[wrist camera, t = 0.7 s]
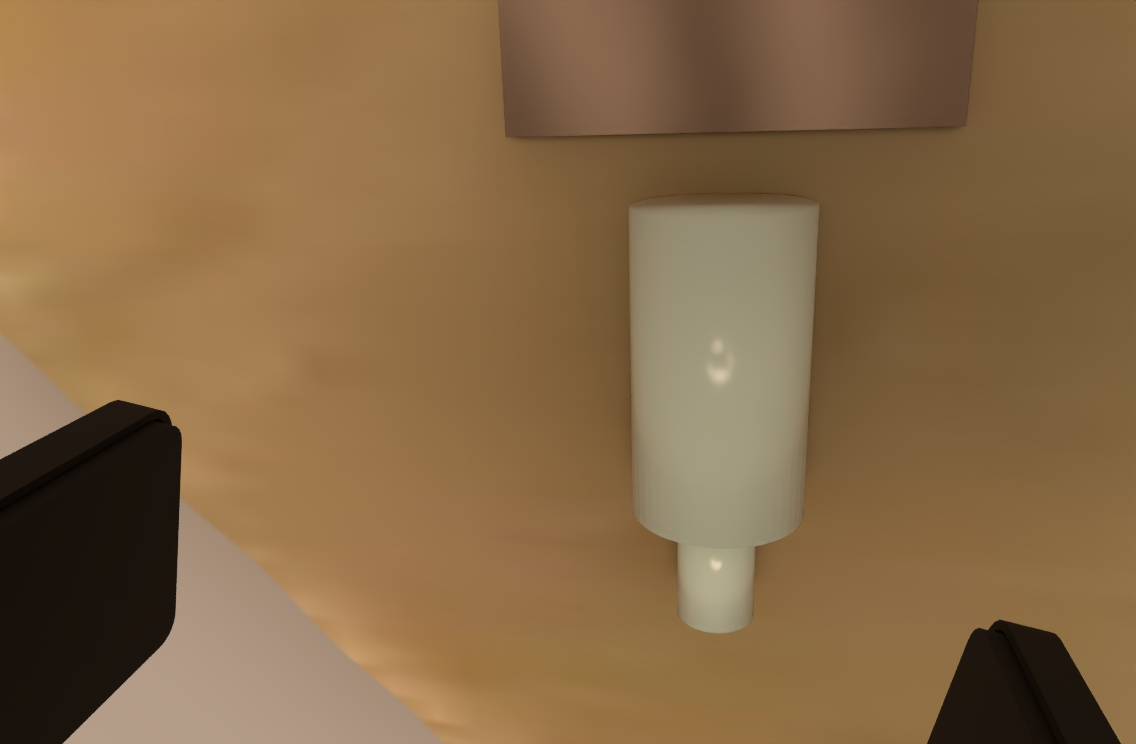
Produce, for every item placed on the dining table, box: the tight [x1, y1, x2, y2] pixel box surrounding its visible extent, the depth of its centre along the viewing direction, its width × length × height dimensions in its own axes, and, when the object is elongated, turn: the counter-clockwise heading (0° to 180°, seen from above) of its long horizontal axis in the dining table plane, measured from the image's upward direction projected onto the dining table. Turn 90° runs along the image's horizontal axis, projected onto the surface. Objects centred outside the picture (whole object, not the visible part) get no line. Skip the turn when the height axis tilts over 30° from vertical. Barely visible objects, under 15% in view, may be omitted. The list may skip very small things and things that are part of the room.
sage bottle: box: [629, 193, 819, 633], centre depth 29 cm, size 14×6×6 cm, turn 2°
